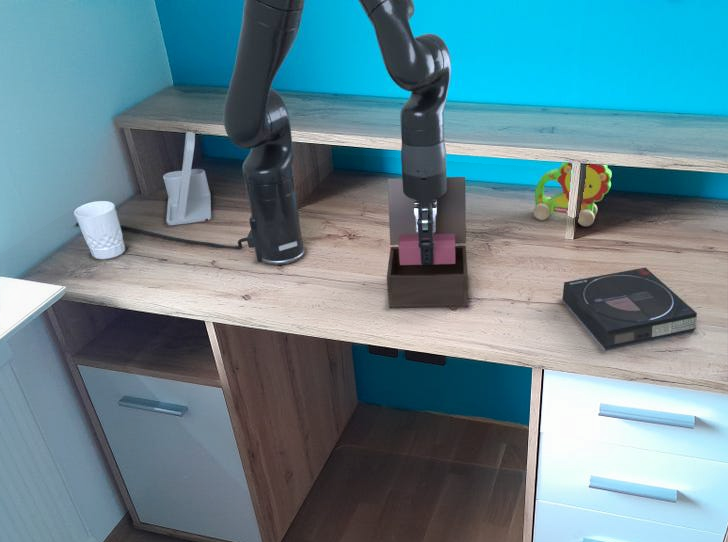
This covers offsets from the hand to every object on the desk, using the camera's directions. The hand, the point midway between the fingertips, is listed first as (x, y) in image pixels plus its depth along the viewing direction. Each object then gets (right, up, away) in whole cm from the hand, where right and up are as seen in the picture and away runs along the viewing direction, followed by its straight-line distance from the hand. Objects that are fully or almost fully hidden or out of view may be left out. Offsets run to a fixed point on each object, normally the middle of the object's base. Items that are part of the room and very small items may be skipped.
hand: (427, 255), depth 126 cm
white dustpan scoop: (-57, +17, +40) cm, 72 cm away
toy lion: (+32, +12, +28) cm, 44 cm away
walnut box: (0, -6, +5) cm, 8 cm away
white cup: (-68, +4, +22) cm, 72 cm away
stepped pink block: (0, 0, 0) cm, 0 cm away
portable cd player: (+35, -12, -4) cm, 37 cm away
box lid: (0, +9, +3) cm, 10 cm away
